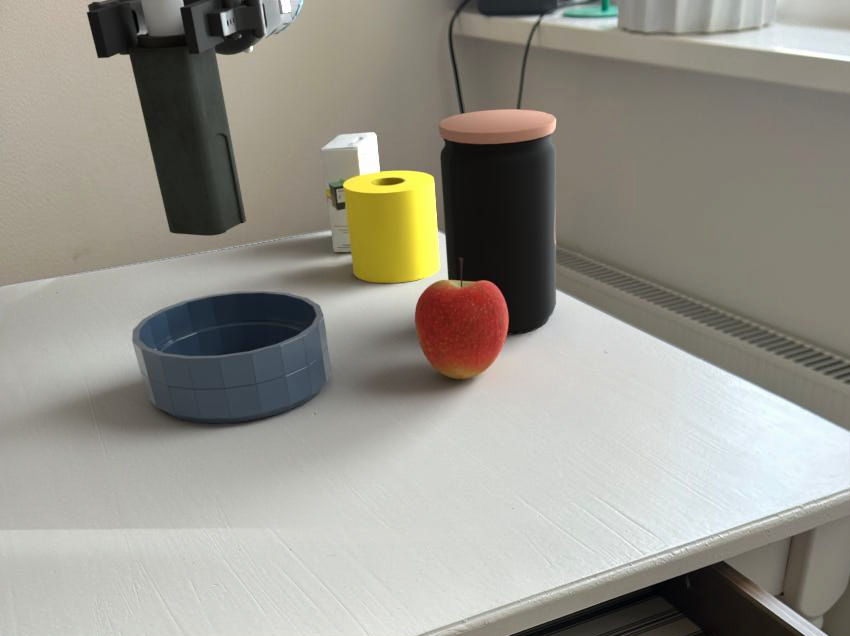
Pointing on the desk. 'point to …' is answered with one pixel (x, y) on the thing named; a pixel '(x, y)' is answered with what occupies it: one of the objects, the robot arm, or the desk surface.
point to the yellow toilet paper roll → (392, 226)
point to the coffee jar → (503, 207)
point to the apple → (461, 326)
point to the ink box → (346, 177)
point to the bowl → (233, 355)
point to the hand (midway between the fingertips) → (143, 33)
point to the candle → (186, 125)
